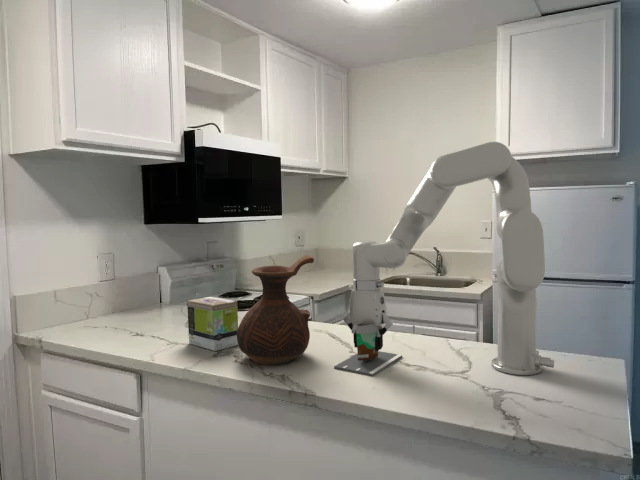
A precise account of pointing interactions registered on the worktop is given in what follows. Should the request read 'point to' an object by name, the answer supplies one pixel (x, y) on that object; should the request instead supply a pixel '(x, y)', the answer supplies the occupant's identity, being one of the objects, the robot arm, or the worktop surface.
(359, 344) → the food container
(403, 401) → the worktop surface
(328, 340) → the worktop surface
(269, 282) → the jug
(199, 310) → the tea box
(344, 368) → the mat
